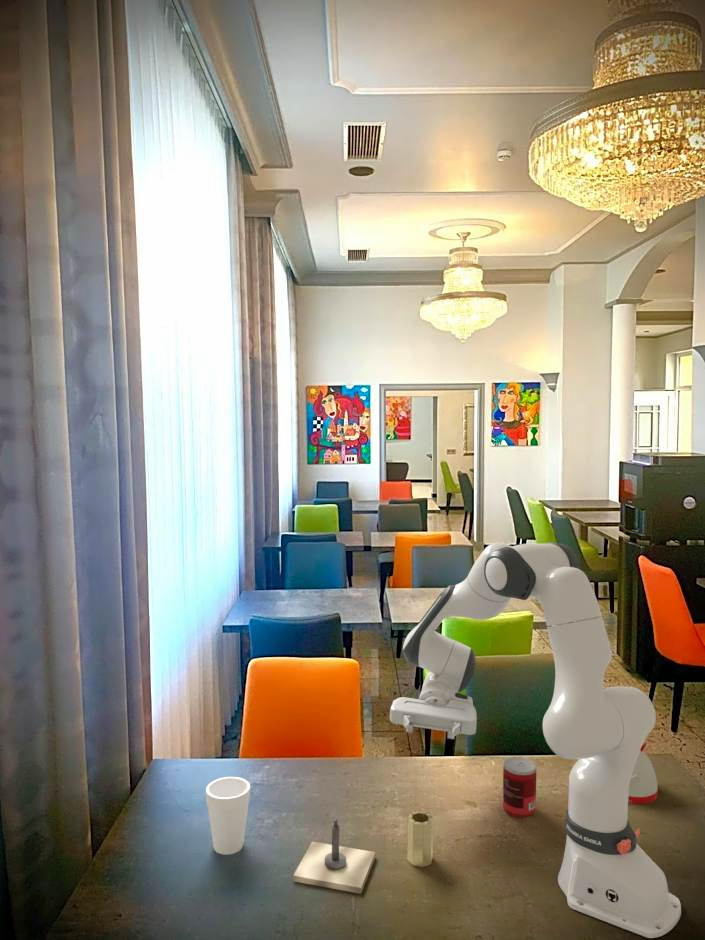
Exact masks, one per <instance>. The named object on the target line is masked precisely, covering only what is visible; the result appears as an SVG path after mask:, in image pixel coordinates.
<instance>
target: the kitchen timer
mask: <svg viewBox="0 0 705 940" xmlns="http://www.w3.org/2000/svg"><path fill="white" fill-rule="evenodd" d="M646 745H647V742H645V741H644V742H643V744H642V746H641V749H640V751H639V754H638V757H637V760H636V763H635V766H634V769H633V772H632V776H631V780H630V785H629V796H628V802H629V803H630V804H641V803H642V804H648V803H651V802H654V801H655V800H656V799H657V798H658V793H659V791H658V790H659V786H658V785H659V784H658V779H657V776H656V772H655V769H654V767H653V764H652V762H651V760H650V758H649V757H648V755H647V754H646V752H645V751H644V749H645V748H646ZM629 803H628V804H629Z"/></svg>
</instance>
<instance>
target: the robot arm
mask: <svg viewBox="0 0 705 940" xmlns="http://www.w3.org/2000/svg"><path fill="white" fill-rule="evenodd" d="M530 597H532V598H534V599H536V601H538V602H539V604H540V605H541V608H542V611H543V615H544V621H545V624H546V629H547V633H548V637H549V641H550V645H551V651H552V655H553V660H554V669H555V677H554V689H553V695H552V699H551V702H550V704H549V706H548V709H547V710H546V712H545V713H544V716H543V719H542V732H543V736H544V740H545V742H546V743H547V744H546V745H547V746H549V748H550V750H551V751H552V753H554V754H555V755H557V756H558V757H560V758H561V759H564V760H577V761H576V763H575V764H573V766H572V768H571V769H570V771H569V776H568V795H567V796H568V799H567V801H568V802H567V803H568V804H567V809H566V811H565V819H564V820H565V822H564V825H565V826H564V833H565V837H566V840H565V841H566V842H565V849H564V854H563V860H562V862H561V867H560V870H559V872H558V874H557V875H558V876H557V883H558V885H559V887H560V890H561V891H562V892H563V893H564V895H565V897H566V901H567V902H566V903H567V905H568V907H569V908H571V909H572V910H573V911H574V910H575V911H577V912H580V913H582V914H585V915H587V916H590V917H593V918H595V919H598V920H601V921H602V922H606V923H608V924H611V925H613V926H615V927H618V928H621V929H623V930H626V931H630V932H632V933H633V934H637V935H640V936H642V937H644V938H647V939H654V938H655V939H656V938H659V937H662V936H664V935H666V934H667V933H669V932H670V931H671V930H673V929H674V927H675V926H676V925H677V924H678V922H679V920H680V919H681V916H682V903H681V901H680V899H679V898H678V897H677V896H676V895H674V894H672V893H671V892H669V885H668V881H667V877H666V875H665V873H664V871H663V870H662V869H661V868H660V867H659V865H658V864H656V862H655V861H653V859H651V857H650V856H649V855H648V854H647V853H646V852H645V851H644V850H643V849H642V848H641V847H640V845H639V844H638V843H637V839H638V837H639V836H640V834H641V833H640V831H641V829H640V828H637V829H636V830H635V831H634V830H633V828H632V826H631V824H630V822H629V819H628V811H629V803H628V796H629V785H630V780H631V776H632V772H633V769H634V766H635V763H636V760H637V757H638V754H639V751H640V749H641V746H642V745H643V744H644V743H645V740H646V739H647V737H648V736H649V734H650V732H651V731H652V730H653V729H654V727H655V725H656V720H657V717H656V709H655V706H654V704H653V703H652V700H651V699H650V697H649V696H648V695H647V694H646V693H645V692H644V691H642V689H639V688H637V687H634V686H623V685H622V686H620V685H619V686H610V687H605V688H604V682H605V681H604V679H605V672H606V670H607V668H608V666H609V665H610V663H611V660H612V656H613V653H612V648H611V644H610V640H609V638H608V632H607V629H606V626H605V621H604V618H603V614H602V611H601V608H600V604H599V602H598V599H597V597H596V593H595V591H594V589H593V586H592V585H591V582H590V580H589V578H588V576H587V575H586V573H585V572H584V571H582V570H581V569H580V562H579V559H578V556H577V554H576V553H575V551H574V550H573V549H572V548H571V547H569V546H568V545H566V544H564V543H559V542H546V543H532V542H531V543H522V544H521V543H520V544H516V545H513V546H512V545H510V544H508V543H503V542H494V543H492V544H489V545H487V546H486V547H485V548H484V550H483V551H482V552H481V553H480V554H479V556H478V558H477V559H476V560H475V561H474V563H473V565H472V567H471V569H470V570H469V572H468V574H467V577H466V578H465V579H464V580H463V581H461V582H459V583H457V584H450V585H448V586H447V587H446V588H445V589H444V590H443V591H442V592H441V593H440V594H439V595H438V597H437V598H436V599H435V601H434V602H433V603H432V604H431V606H430V608H429V609H428V610H427V611H426V613H425V614H423V616H422V618H421V619H420V621H419V622H418V623H417V624H416V625H415V626H414V628H413V629H412V630H410V632H409V633H408V634H407V635H406V637H405V639H404V642H403V645H402V653H403V656H404V659H405V660H406V662H407V664H410V665H412V666H415V667H418V668H421V669H423V670H426V671H427V672H428V674H427V675H426V676H425V678H424V681H423V684H422V688H421V691H420V694H419V697H418V698H414V697H411V698H410V697H406V696H402V697H397V698H396V699H393V701H392V703H391V706H390V710H389V721H390V722H391V723H392V724H396V725H403V727H404V729H405V732H406V733H413V731H414V727H415V728H422V729H429V730H436V731H442V732H447V739H451V740H455V737H456V736H458V735H460V734H463V735H468V736H472V735H475V734H476V733H477V722H478V721H477V720H478V718H477V710H476V707H475V706H474V704H473V701H474V700H473V698H472V697H471V696H469V695H465V694H463V693H461V692H463V691H464V690H466V689H467V688H468V686H469V684H470V682H471V680H472V679H473V676H474V672H475V669H476V668H475V666H476V661H477V658H476V655H475V652H474V650H473V649H472V647H470V646H467V645H466V644H464V643H462V642H460V641H458V640H455V639H452V638H450V637H448V636H446V635H443V634H441V633H439V632H438V631H436V630H437V628H438V627H439V626H440V625H441V623H442V622H443V621H444V620H445V619H447V618H452V617H454V618H455V617H456V618H457V617H458V618H467V619H471V620H478V621H479V620H481V621H483V620H490V619H493V618H496V617H497V616H499V615H500V614H501V613H503V611H504V610H505V609H506V607H507V606H508V604H509V603H510V601H511V599H518V600H522V601H526V600H528V598H530Z"/></svg>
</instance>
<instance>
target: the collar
mask: <svg viewBox="0 0 705 940" xmlns="http://www.w3.org/2000/svg"><path fill="white" fill-rule="evenodd" d="M433 831H434V816H432V815H431V814H430V813H429V812H427V811H422V810H416V811H412V812H409V814H408V816H407V846H406V847H407V848H406V849H407V851H406V852H407V853H406V854H407V857H406V860H407V862H408V863H410V865H412V866H414V867H420V868H424V867H427V866H430V865H432V862H433V854H434V853H433V851H434V850H433V845H434V844H433V843H434V840H433V839H434V835H433V833H434V832H433Z"/></svg>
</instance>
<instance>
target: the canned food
mask: <svg viewBox="0 0 705 940" xmlns="http://www.w3.org/2000/svg"><path fill="white" fill-rule="evenodd" d="M502 766H503V770H502V771H503V773H502V778H503V779H502V806H503V807H502V808H503V810H504V812H506V813H507V814H508V815H510V816H512V817H515V818H522V819H525V818H528V817H529V818H530V817H531V816H533V815H534V813H535V812H536V805H537V803H536V802H537V764H536V763H535V762H534V761H532V760H531V759H529V758H526V757H521V756H520V757H519V756H513V757H508V758H506V759H504V762H503V765H502Z"/></svg>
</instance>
